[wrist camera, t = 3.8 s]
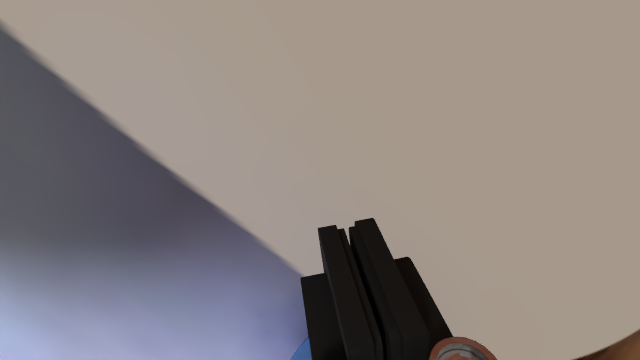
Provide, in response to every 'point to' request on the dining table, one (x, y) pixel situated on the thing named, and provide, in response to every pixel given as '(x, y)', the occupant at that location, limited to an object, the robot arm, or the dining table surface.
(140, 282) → the dining table surface
